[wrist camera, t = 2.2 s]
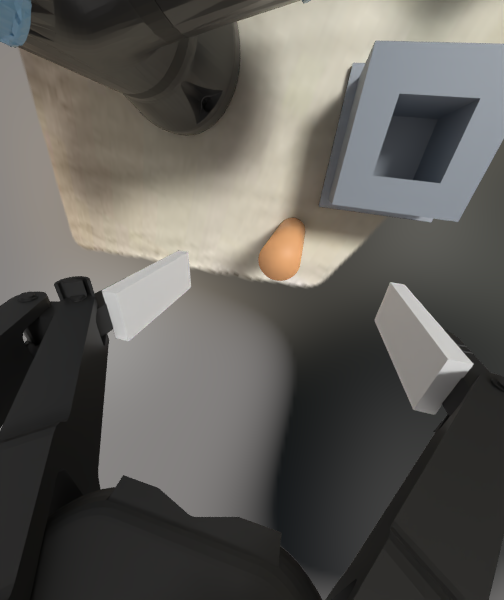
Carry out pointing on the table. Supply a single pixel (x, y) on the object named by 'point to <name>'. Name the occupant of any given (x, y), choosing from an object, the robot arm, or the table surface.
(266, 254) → the dowel
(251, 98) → the table surface
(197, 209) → the table surface
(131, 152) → the table surface
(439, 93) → the socket block
